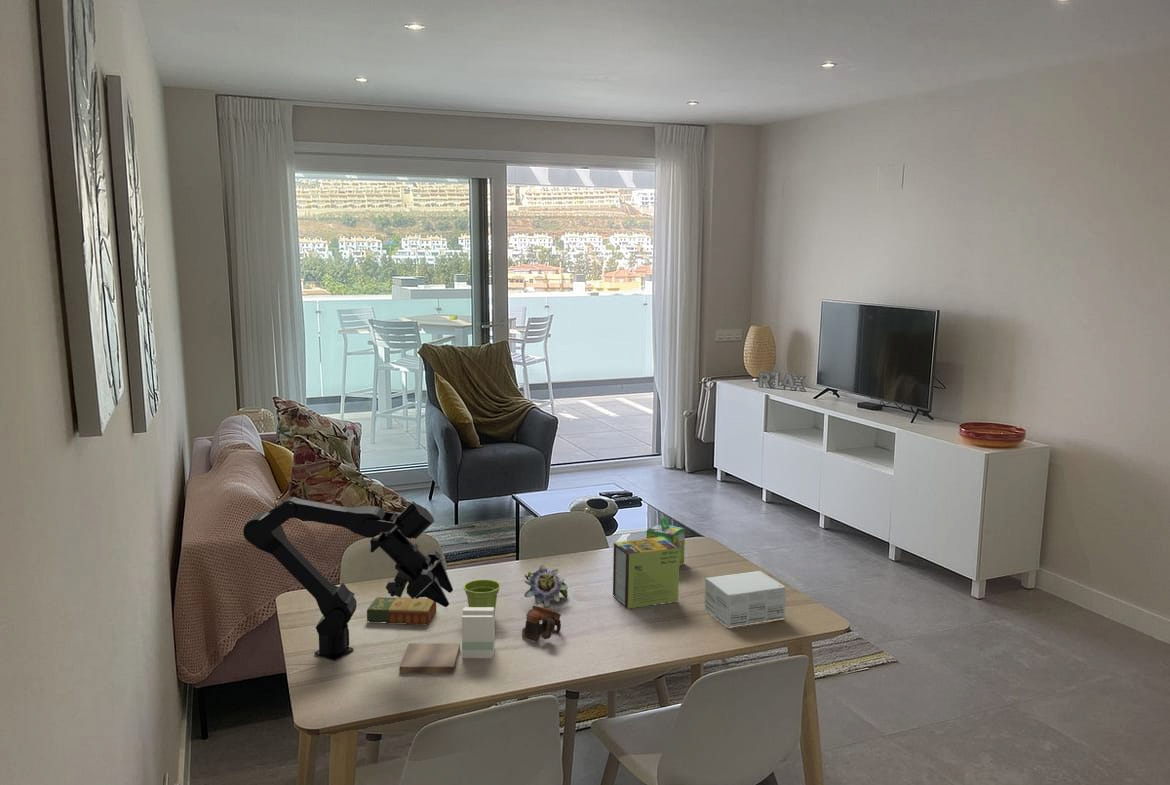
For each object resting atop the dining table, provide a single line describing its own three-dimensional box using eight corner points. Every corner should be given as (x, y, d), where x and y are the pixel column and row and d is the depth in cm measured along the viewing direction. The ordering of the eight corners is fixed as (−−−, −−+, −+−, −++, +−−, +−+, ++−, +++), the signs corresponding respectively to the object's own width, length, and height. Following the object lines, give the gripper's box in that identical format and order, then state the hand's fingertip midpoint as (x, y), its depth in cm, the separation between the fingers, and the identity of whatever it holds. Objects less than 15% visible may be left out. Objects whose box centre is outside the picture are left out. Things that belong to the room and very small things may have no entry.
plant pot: (456, 617, 223) (456, 585, 221) (485, 607, 229) (485, 576, 228) (478, 628, 216) (478, 595, 215) (507, 618, 223) (507, 586, 221)
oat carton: (462, 658, 200) (461, 613, 198) (464, 647, 205) (464, 604, 204) (492, 658, 200) (492, 613, 198) (494, 647, 206) (494, 604, 204)
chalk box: (672, 572, 258) (673, 524, 256) (644, 566, 262) (646, 519, 260) (685, 563, 266) (686, 516, 263) (658, 558, 270) (659, 512, 268)
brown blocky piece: (513, 634, 214) (523, 602, 216) (545, 645, 218) (555, 613, 220) (533, 640, 204) (544, 606, 206) (566, 652, 207) (577, 618, 210)
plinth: (399, 673, 192) (399, 666, 192) (409, 649, 204) (408, 643, 204) (453, 673, 192) (453, 666, 192) (460, 649, 204) (459, 643, 204)
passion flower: (546, 625, 232) (524, 597, 226) (532, 604, 241) (511, 576, 235) (580, 600, 233) (559, 571, 227) (565, 579, 243) (545, 551, 237)
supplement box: (758, 602, 236) (759, 569, 234) (785, 621, 223) (786, 586, 222) (703, 610, 230) (704, 576, 229) (727, 629, 218) (728, 594, 216)
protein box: (679, 602, 235) (680, 547, 233) (627, 609, 229) (628, 553, 227) (661, 588, 244) (663, 536, 242) (611, 595, 239) (612, 541, 237)
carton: (428, 626, 218) (428, 610, 217) (366, 624, 219) (365, 608, 218) (436, 613, 226) (436, 597, 225) (376, 611, 227) (375, 595, 226)
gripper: (384, 562, 208) (429, 606, 210) (369, 589, 190) (419, 637, 192) (417, 531, 208) (462, 576, 210) (405, 554, 189) (455, 604, 191)
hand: (449, 598), depth 201 cm, fingers open, 9 cm apart
